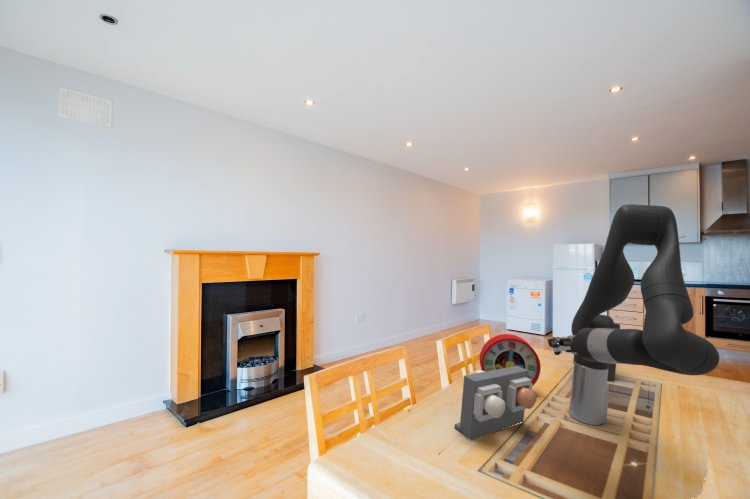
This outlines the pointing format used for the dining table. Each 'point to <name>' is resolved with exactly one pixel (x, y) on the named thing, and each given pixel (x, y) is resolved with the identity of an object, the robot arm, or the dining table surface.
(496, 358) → the toy clock
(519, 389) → the terracotta button
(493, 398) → the cream button
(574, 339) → the robot arm
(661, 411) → the dining table surface
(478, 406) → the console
